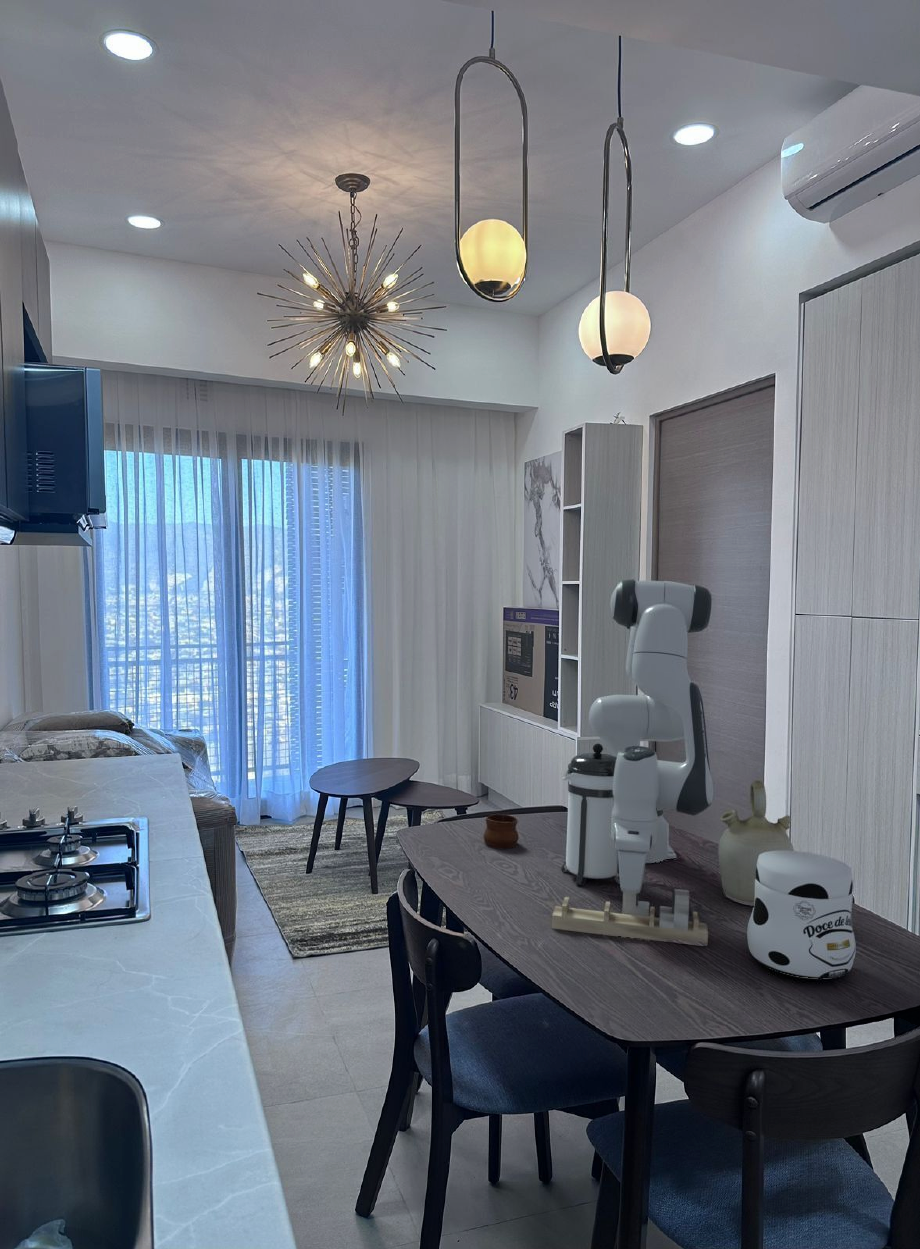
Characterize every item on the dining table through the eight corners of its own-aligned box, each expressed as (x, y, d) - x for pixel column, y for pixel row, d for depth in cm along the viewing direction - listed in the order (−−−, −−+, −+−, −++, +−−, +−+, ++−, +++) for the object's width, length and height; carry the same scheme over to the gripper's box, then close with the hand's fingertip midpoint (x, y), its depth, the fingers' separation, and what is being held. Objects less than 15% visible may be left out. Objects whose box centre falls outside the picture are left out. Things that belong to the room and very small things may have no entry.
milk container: (848, 999, 137) (854, 886, 137) (736, 972, 146) (741, 866, 145) (858, 961, 152) (863, 859, 152) (756, 938, 161) (760, 842, 160)
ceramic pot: (456, 835, 223) (458, 808, 222) (521, 833, 228) (522, 807, 227) (478, 858, 205) (480, 829, 205) (547, 855, 211) (549, 827, 210)
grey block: (622, 911, 172) (624, 881, 172) (648, 914, 171) (649, 884, 171) (622, 918, 169) (623, 888, 168) (648, 921, 167) (649, 890, 167)
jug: (709, 902, 180) (714, 782, 179) (723, 881, 193) (729, 770, 193) (787, 917, 173) (793, 792, 172) (796, 894, 186) (802, 779, 185)
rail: (555, 918, 167) (556, 875, 167) (705, 936, 161) (708, 891, 160) (551, 928, 162) (553, 883, 162) (707, 947, 156) (709, 900, 156)
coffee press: (611, 895, 182) (617, 752, 181) (546, 877, 191) (551, 742, 190) (647, 875, 195) (653, 743, 194) (584, 860, 205) (589, 734, 204)
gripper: (619, 816, 180) (616, 882, 181) (615, 842, 160) (611, 916, 161) (650, 819, 179) (647, 886, 179) (649, 846, 159) (646, 920, 159)
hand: (630, 900), depth 170 cm, fingers open, 8 cm apart
